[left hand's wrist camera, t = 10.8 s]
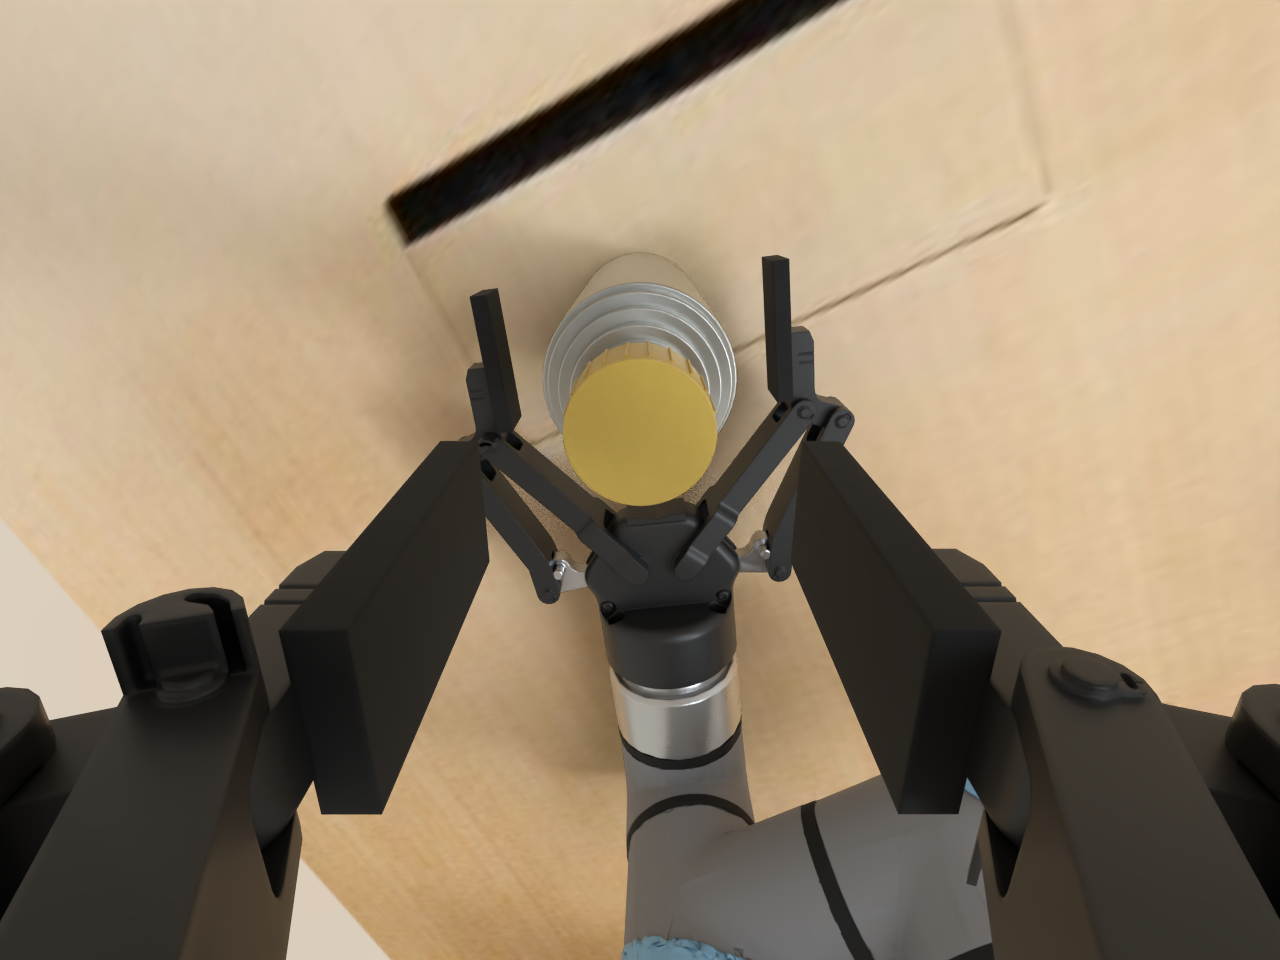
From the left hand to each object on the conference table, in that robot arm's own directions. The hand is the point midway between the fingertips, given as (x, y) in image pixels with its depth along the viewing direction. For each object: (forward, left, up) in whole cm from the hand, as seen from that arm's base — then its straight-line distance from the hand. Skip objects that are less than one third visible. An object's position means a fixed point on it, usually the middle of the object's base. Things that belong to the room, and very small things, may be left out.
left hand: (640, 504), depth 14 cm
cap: (0, 0, -5) cm, 5 cm away
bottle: (0, 0, -26) cm, 26 cm away
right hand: (-3, -1, -20) cm, 20 cm away
